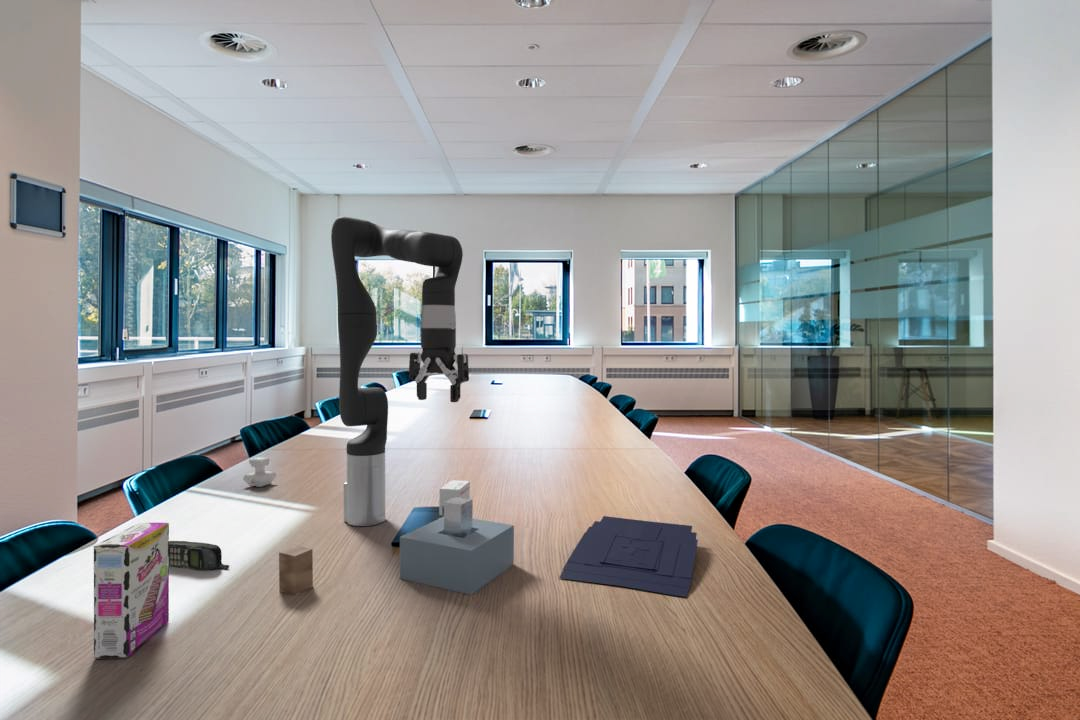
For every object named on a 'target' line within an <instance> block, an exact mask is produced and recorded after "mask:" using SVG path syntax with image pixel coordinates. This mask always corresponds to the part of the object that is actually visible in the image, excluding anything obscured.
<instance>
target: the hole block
mask: <svg viewBox="0 0 1080 720" xmlns="http://www.w3.org/2000/svg"><path fill="white" fill-rule="evenodd" d="M514 543H515V525H514V524H507V523H503V522H502V523H501V522H496V521H489V520H483V519H477V518H473V520H472V533H471V534H469V535H468V536H466V537H464V538H461V537H455V536H450V535H444V517H442V518H439V517H438V518H437V519H436V520H434V521H431V522H429V523H427V524H425V525H423V526H420V527H418V528H416V529H414V530H412V531H410V532H407V533H406V534H405V533H404V534H403V535H400V536H399V579H401V580H405V581H409V582H414V583H419V584H424V585H426V586H427V585H428V586H432V587H436V588H440V589H444V590H447V591H453V592H458V593H461V594H465V595H466V594H467V595H470V596H471V595H473V594H474V593H476V592H477V591H479V590H480V589H481V588H483V587H484V586H486V585H487V584H488V583H490V582H491V581H493V580H494V579H495V578H497V577H498V576H499V575H501V574H502V573H504V572H505V571H506V570H508V569H509V568H510V567H512V566H513V565H514V559H515V558H514V557H515V553H514V551H515V544H514Z"/></svg>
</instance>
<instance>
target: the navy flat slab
mask: <svg viewBox="0 0 1080 720" xmlns="http://www.w3.org/2000/svg"><path fill="white" fill-rule="evenodd" d="M692 530H693V525H687V524H680V523H679V524H676V523H670V522H669V523H668V522H661V521H660V522H657V521H650V520H649V521H648V520H640V519H632V518H623V517H615V516H614V517H613V516H606V515H604V516H602V518H601V520H600V521H597V520H595V521H594V522H593V523H592V525H591V526H588V528H587V529H586V531H585V532H584V533H583V535H582V536H581V538H580V539H579V541H578V542H577V544H576V546H575V548H574V549H573V551H572V552H571V554H570V556H569V558H568V559H567V561H566V563H565V564H564V566H563V568H562V571H561V574H560V575H559V577H558V578H559V579H562V580H563V579H564V580H570V581H571V580H572V581H577V582H579V581H580V582H588V583H595V584H600V585H601V584H603V585H609V586H611V585H612V586H618V587H619V586H620V587H625V588H629V589H630V588H631V589H637V590H640V591H641V590H642V591H648V592H655V593H659V594H664V595H666V594H667V595H671V596H676V597H682V598H687V595H688V592H689V589H690V587H691V583H692V576H693V570H694V564H695V560H696V554H697V548H698V542H699V540H698V539H697V533H698V532H692Z"/></svg>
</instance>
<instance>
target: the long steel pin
mask: <svg viewBox="0 0 1080 720" xmlns="http://www.w3.org/2000/svg"><path fill="white" fill-rule="evenodd" d="M473 501H474V500H473V499H472V498H471V499H465V498H459V497H455V498H452V499H450V500H447V501H445V502H444V535H450V536H455V537H461V538H464V537H466V536H468V535H469V534H471V533H472V520H473V519H474V518H473V514H474V513H473V508H474V507H473Z"/></svg>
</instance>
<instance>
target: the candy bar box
mask: <svg viewBox="0 0 1080 720" xmlns="http://www.w3.org/2000/svg"><path fill="white" fill-rule="evenodd" d="M169 526H170V522H139V523H137V524H134V525H132V526H130V527H128V528H127V529H125V530H123V531H120V532H118V533H117V534H115V535H113V536H111V537H109V538H106V539H105V540H103V541H101V542H100V543H97V544H95V545H93V659H99V660H100V659H102V660H103V659H105V660H107V659H114V660H115V659H119V660H120V659H127V658H130V656H132V654H134V653H135V652H136V651H137V650H138V649H139V648H140V647H141V646H142V645H144V644H145V643H146V642H147V641H148V640H150V639H151V638H152V637H153V636H154V635H155V634H156V633H158V631H160V630H161V629H162V628H163V627H164V626H166V625H167V624H168V623H169V621H170V620H169V619H170V617H169V614H170V613H169V612H170V609H169V608H170V606H169V605H170V603H169V601H170V600H169V599H170V597H169V592H170V591H169V590H170V588H169V585H170V583H169V582H170V581H169V580H170V577H169V576H170V575H169V571H170V570H169V569H170V568H169V567H170V566H169V541H170V535H169V534H170V527H169Z"/></svg>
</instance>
